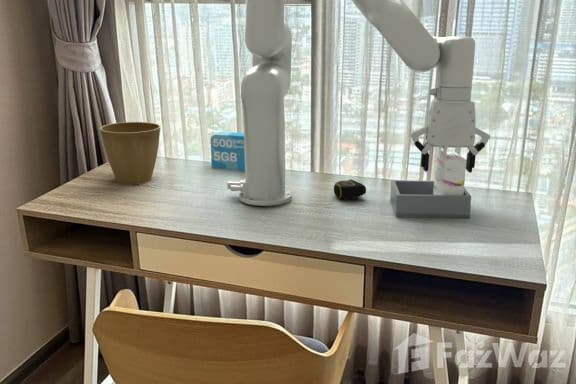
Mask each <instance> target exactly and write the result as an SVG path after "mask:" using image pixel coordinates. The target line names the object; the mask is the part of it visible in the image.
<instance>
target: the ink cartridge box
mask: <svg viewBox="0 0 576 384" xmlns="http://www.w3.org/2000/svg"><path fill="white" fill-rule="evenodd" d="M441 148H442V149H443V150H442V149H441ZM448 149H449V147H447V146H446V145H445V147H436V152H435V162H434V163H435V166H434V178H433V179H434V180H433V181H434V190H433V195H464V188H465V180H466V179H465V178H466V171H467V170H466V160H467V159H465V158H464V157H463V156H461V155H460V154H459V153H458V152H450V151H449V152H448Z"/></svg>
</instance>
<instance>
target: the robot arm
mask: <svg viewBox="0 0 576 384" xmlns="http://www.w3.org/2000/svg"><path fill="white" fill-rule="evenodd" d="M285 1H286V0H245V23H244V24H245V27H244V42H245V47H246V48H247V51H248V52H249V53H251V55H252V56H251V57H252V58H251V59H252V67H251V68H249V69H248V71H246V73H245V74H244V76H243V78H242V81H241V84H240V100H241V107H242V108H241V109H242V121H243V133H244V148H245V171H244V177H245V178H244V179H243V180H242V179H241V180H240V181H234V180H233V181H232V180H231V181H230V180H228V181H227V183H226V188H227V190H230V191H231V192H237V191H239V192H240V193H239V194H238V195H239V196H238V199H239V201H240V202H242V203H244V204H246V205H251V206H259V207H261V206H263V207H264V206H265V207H267V206H268V207H269V206H278V205H283V204H285V203H288V202H290V201H291V200H292V195H293V194H292V192H291V191H290V190H288V189H286V133H285V132H286V129H285V126H286V123H285V109H284V108H285V107H284V97H285V96H286V95H287V94H288V92H289V90H290V87H291V81H292V79H291V77H292V47H293V46H292V43H293V42H292V41H293V39H292V38H293V37H292V31H291V27H290V26H289V24H288V22H287V21H286V20H285V3H286V2H285ZM351 2H352V3H353V4H354V5H355V7H356V8H357V9H358V10H359V12H360V13H361V15H363V17H364V18H365V19H366V20H367V21H368V22H369V24H371V25H372V26H373V27H374V28H375V29H376V30H377V31H378V32H379V33H380V34H381V36H382V37H383V38H384V39H385V41H386V42H387V43H388V44H389V46H390V47H391V48H392V49H393V51H394V52H395V53H396V54H397V56H399V58H400V60H401V61H402V62H403V63H404V64H405V66H406V67H407V68H408V69H409V70H411V71H413V72H415V73H422V74H423V73H426V72H429V71H431V70H432V69H435V68H436V69H437V70H436V82H435V83H436V85H435V86H434V88H429V89H428V95H429V96H432V97H434V99H432V101H431V104H430V107H429V112H428V116H427V117H428V118H427V123H426V124H427V125H424V126H422V127H421V128H419V129H416V130H414V131H412V132H411V133H410V135H409V136H410V138H411V140H412V142H413V144H414V146H415V147H416V148H417V150H419V151H420V152H421V153H420V155H421V157H420V167H421V168H423V171H424V173H425V172H429V168H430V167H429V164H430V163H429V162H430V154H429V151H430V150H431V149H432V148H433V147H434V148H437V147H441V148H442V147H445V145H446V146H447V147H448V148H466V149H468V152H467V154H466V159H465V160H466V170H465V171H467V172H468V173H469V174H470V173H473V169H475V165H476V157H477V156H478V154H479V152H481V151H482V150H484V148H485V146H486V144H487V143H488V142H489V140H490V138H491V135H490V134H489V133H487V132H485V131H483V130H482V129H480V128H478V127H476V126H477V125H476V106H475V105H476V103H475V101H473V100H471V99H472V87H473V78H474V65H475V53H476V40H475V39H474V37H471V36H466V35H465V36H464V35H463V36H462V35H451V36H447V35H446V36H444V37H443V36H434V35H431V34H430V32H429V31H428V29H426V27H425V26H424V25H423V24H422V22H421V21H420V20H419V19H418V17H417V16H416V15H415V14H414V12H413V11H412V9H410V7H409V6H408V5H407V3H406V2H405V0H351ZM424 134H425V140H426V141H425V142H424V143H423V144H422V143H421V141H420V139H419V137H420V136H423V135H424ZM476 135H477V136H478V137H480V140H479V141H478V142H477V143H475V141H476Z"/></svg>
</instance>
